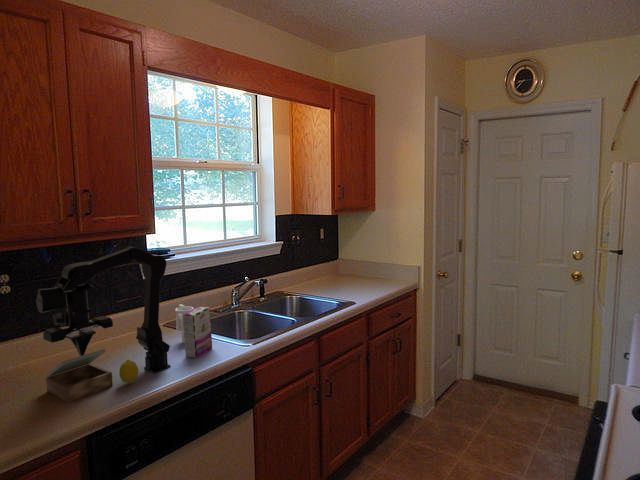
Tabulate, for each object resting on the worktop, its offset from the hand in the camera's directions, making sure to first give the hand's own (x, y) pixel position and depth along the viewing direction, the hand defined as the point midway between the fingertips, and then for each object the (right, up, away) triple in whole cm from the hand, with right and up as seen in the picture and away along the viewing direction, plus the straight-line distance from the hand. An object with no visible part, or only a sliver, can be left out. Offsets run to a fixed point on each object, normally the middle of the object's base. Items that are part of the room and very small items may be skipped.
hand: (81, 355), depth 145 cm
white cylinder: (+19, -6, +45) cm, 50 cm away
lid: (-3, -3, +2) cm, 5 cm away
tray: (-2, -11, +3) cm, 12 cm away
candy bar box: (+28, -7, +33) cm, 44 cm away
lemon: (+12, -11, +6) cm, 17 cm away
